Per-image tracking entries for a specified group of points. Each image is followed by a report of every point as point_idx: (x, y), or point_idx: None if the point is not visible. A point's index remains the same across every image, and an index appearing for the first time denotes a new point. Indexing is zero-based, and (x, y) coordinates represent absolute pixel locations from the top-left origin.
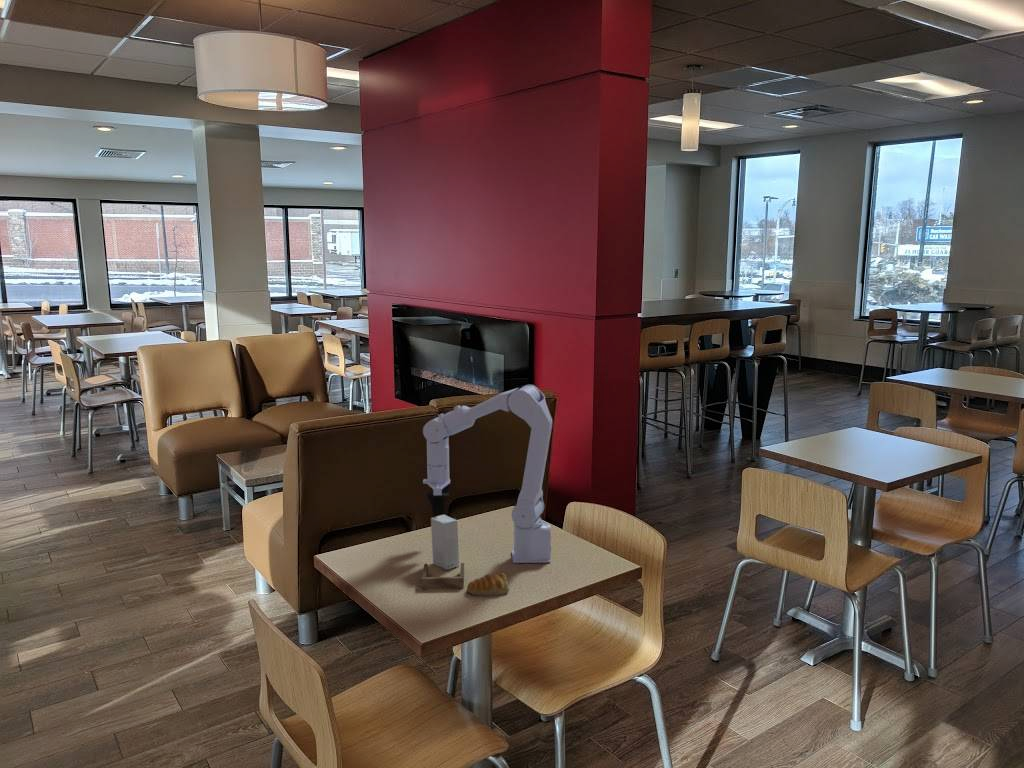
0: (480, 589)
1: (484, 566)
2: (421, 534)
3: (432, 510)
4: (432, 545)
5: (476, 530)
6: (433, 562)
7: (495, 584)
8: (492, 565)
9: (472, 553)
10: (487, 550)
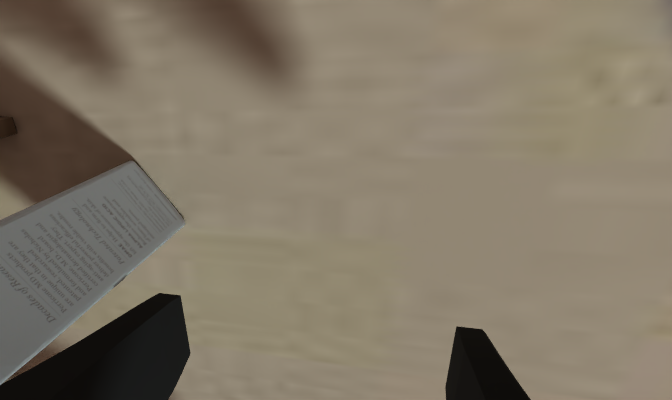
0: None
1: None
2: (614, 86)
3: (75, 344)
4: (53, 196)
5: (576, 383)
6: (123, 163)
7: None
8: None
9: (267, 329)
10: (300, 383)
